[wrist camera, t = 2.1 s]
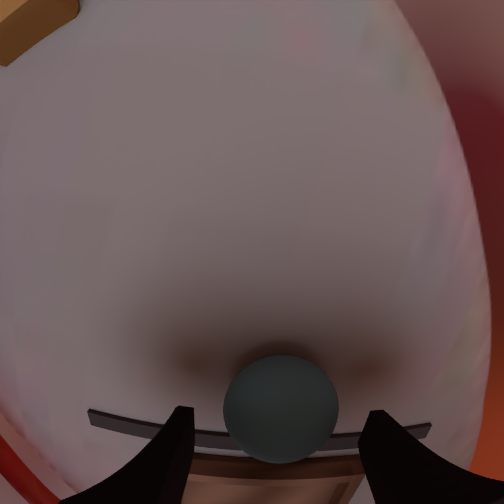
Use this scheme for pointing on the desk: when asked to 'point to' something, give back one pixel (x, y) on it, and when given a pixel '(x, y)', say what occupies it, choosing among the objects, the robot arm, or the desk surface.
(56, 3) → the rubber stamp
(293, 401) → the ball
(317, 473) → the tray
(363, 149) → the desk surface
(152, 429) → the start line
